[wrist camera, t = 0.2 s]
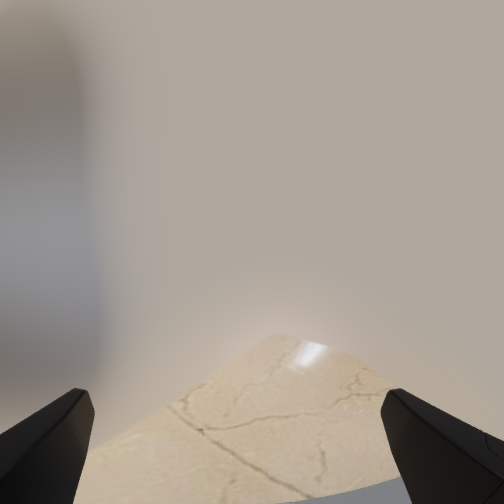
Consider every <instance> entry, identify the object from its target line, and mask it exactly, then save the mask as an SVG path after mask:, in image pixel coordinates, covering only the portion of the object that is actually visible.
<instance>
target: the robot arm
mask: <svg viewBox="0 0 504 504" xmlns="http://www.w3.org/2000/svg"><path fill="white" fill-rule="evenodd" d="M94 415H95V413H94V408H93V405H92V402H91V399H90V396H89V393H88V391H87V390H84V389H78V388H74V389H72V390H70V391H69V392H67V393H66V394H64V395H63V396H61V397H59V398H58V399H56V400H55V401H53V402H52V403H50V404H48V405H47V406H45V407H44V408H42V409H41V410H39V411H37V412H36V413H34V414H32V415H31V416H29V417H28V418H26V419H24V420H23V421H21V422H20V423H18V424H16V425H15V426H13V427H11V428H10V429H8V430H7V431H5V432H3V433H2V434H0V504H73V501H74V497H75V494H76V490H77V487H78V483H79V480H80V476H81V473H82V470H83V466H84V463H85V460H86V456H87V451H88V446H89V440H90V435H91V430H92V425H93V421H94ZM381 418H382V421H383V424H384V428H385V431H386V435H387V438H388V442H389V445H390V449H391V452H392V455H393V457H394V460H395V462H396V465H397V467H398V470H399V472H400V474H401V477H402V479H403V482H404V484H405V487H406V490H407V492H408V495H409V497H410V500H411V502H412V504H504V441H502V440H500V439H498V438H496V437H494V436H492V435H489V434H488V433H485V432H483V431H481V430H479V429H477V428H475V427H473V426H471V425H469V424H467V423H465V422H463V421H461V420H459V419H458V418H456V417H453V416H452V415H450V414H448V413H446V412H444V411H442V410H440V409H438V408H436V407H435V406H432V405H430V404H429V403H427V402H425V401H423V400H421V399H419V398H418V397H416V396H414V395H412V394H410V393H408V392H407V391H405V390H403V389H401V388H398V389H392V390H389V391H388V392H387V394H386V397H385V400H384V402H383V405H382V407H381Z"/></svg>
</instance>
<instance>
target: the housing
mask: <svg viewBox="0 0 504 504" xmlns="http://www.w3.org/2000/svg"><path fill="white" fill-rule="evenodd" d="M279 504H412V502H411V500H410V497H409V495H408V492H407V490H406V487H405V484H404V482H403V479H402V477H398V478H395V479H392V480H389V481H386V482H382V483H379V484H376V485H372V486H369V487H365V488H361V489H357V490H353V491H349V492H345V493H340V494H336V495H331V496H326V497H320V498H315V499H309V500H302V501H295V502H288V503H279Z"/></svg>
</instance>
